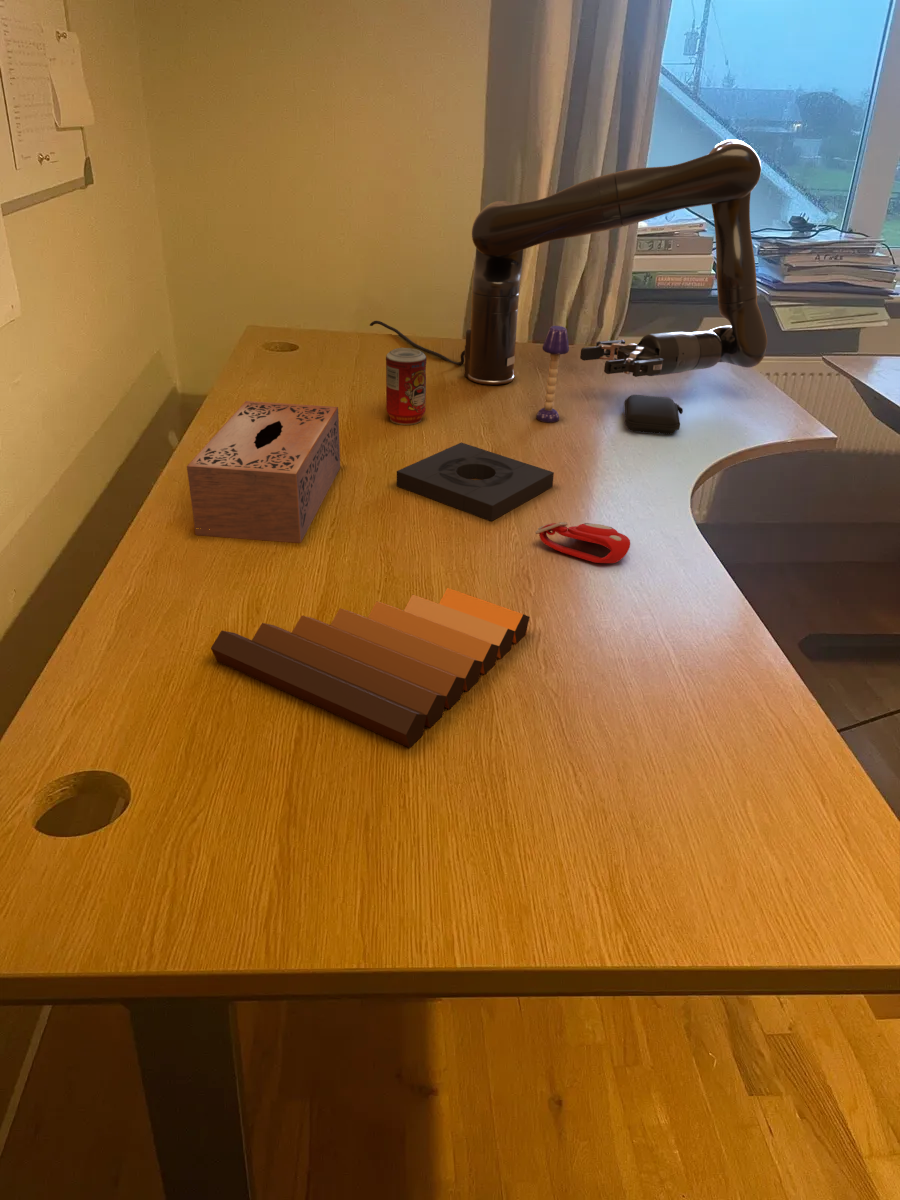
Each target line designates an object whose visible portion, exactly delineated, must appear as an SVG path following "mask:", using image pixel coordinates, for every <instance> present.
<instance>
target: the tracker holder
mask: <svg viewBox="0 0 900 1200" xmlns="http://www.w3.org/2000/svg"><path fill="white" fill-rule="evenodd" d="M568 525H569V524H568V522H567V521H566V522H552V523H551V522H549V523H546V524H544V525H541V526H539V527H538V528H537V530H535V535H538V536H539V539H540V541H541V542H542V543H543V544H544V545H546V546H547V547H549V548H551V549H553V550H555V551H558V552H561V553H562V554H565V555H570V556H572V557H575V558H579V559H582V560H585V561H588V562H590V563H591V562H592V563H595V564H596V563H597V564H615V563H618V562H619V561H621V560H623V558H625V556H626V555H627V553H628V552H629V550H630V548H631V539H630V538H629V537H628V536H627V535H626V534H623V533H621V532H619V531H618V530H617V529H615V528H613V527H611V526H609V525H605V524H601V523H592V522H591V523H590V522H584V523H581V524H578V525H577V526H568ZM567 526H568V527H567ZM556 533H557V534H559V535H560V536H562V537H565V538H570V539H573V540H577V541H584V542H588V543H593V544H597V545H600V546H603V547H604V548H607V549H608V550H609V551H610V552H608V553H607V555H605V556H603V557H602V556H597V555H594V554H591V553H587V552H585V551H581V550H578V549H575V548H571V547H568V546H565V545H562V544H559V543H557V542H555V541H554V540H551V538H549V537H548V535H549V536H554V535H556Z"/></svg>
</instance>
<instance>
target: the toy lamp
mask: <svg viewBox="0 0 900 1200" xmlns="http://www.w3.org/2000/svg"><path fill="white" fill-rule="evenodd" d="M569 345H570V344H569V337H568V330H567V328H566V327H565V326H562V325H551V326H550V327H549V328H548V331H547V333H546V336H545V339H544V342H543V344H542V348H541V349H542V351H543V352H545V353H547V354H549V357H550V358H549V359H550V360H549V361H548V362H549V364H548V365H549V367H548V375H547V379H546V384H547V385H546V388H545V392H546V393H545V395H544V400H545V401H544V402H543V406H544V407H543V408H540V409H538V411H537V413H536V415H535V418H536V419H537V420H538V421H540V422H542V423H549V424H550V423H556V422H559V420H560V414H559V412H558V411H557V410H556V409H555V408H554V401H555V396H556V395H555V393H556V390H557V386H556V385H557V383H558V377H557V376H558V375H559V374H558V373H559V369H558V368H559V365H560V360H559V359H560V358H561V355H565V354H568V353H569V351H570V346H569Z"/></svg>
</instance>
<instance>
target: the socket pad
mask: <svg viewBox="0 0 900 1200" xmlns="http://www.w3.org/2000/svg"><path fill="white" fill-rule="evenodd" d="M554 475H555V472H554V471H551V470H548V469H545V468H542V467H538V466H536V465H533V464H530V463H526V462H523V461H521V460H517V459H514V458H511V457H507V456H504V455H501V454H498V453H495V452H493V451H490V450H486V449H483V448H481V447H477V446H474V445H471V444H469V443H465V442H463V441H462V442H459V443H457V444H455V445H452V446H450V447H448V448H445V449H443V450H442V451H439V452H437V453H434V454H432V455H429V456H428V457H425V458H423V459H421V460H419V461H416V462H414V463H412V464H410V465H407V466H405V467H402V468H401V469H398V470H396V487H398V488H401V489H404V490H406V491H409V492H411V493H414V494H417V495H419V496H422V497H425V498H428V499H430V500H433V501H436V502H439V503H441V504H444V505H447V506H449V507H451V508H455V509H457V510H460V511H462V512H464V513H465V512H466V513H468V514H471V515H474V516H476V517H479V518H481V519H484V520H487V521H490V522H493V521H494V520H496V519H498V518H500V517H502V516H504V515H505V514H507V513H510V512H511V511H512V510H514V509H516V508H518V507H519V506H521V505H523V504H525V503H527V502H529V501H530V500H533V499H534V498H535V497H537V496H540V494H543V493H544V492H546V491H547V490H549V489H551V488H553V487H554Z"/></svg>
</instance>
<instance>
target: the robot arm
mask: <svg viewBox="0 0 900 1200" xmlns="http://www.w3.org/2000/svg"><path fill="white" fill-rule="evenodd" d="M761 175H762V163H761V159H760V157H759V155H758V154H757V152H756V151H755V150H754V149H753V148H752V146H750V145H749V144H747V143H746V142H744V141H743V140H739V139H726V140H723V141H721V142H720V143H717V144H716V145H715V146H714V147H713V148H712V149H711V150H710V151H709V153H708V154H705V155H702V156H699V157H697V158H694V159H690V160H687V161H685V162H684V161H683V162H681V163H678V164H672V165H666V166H650V167H649V166H648V167H639V168H631V169H625V170H620V171H614V172H610V173H608V174H603V175H599V176H596V177H593V178H589V179H587V180H584V181H582V182H577V183H575V184H573V185H571V186H569V187H566V188H564V189H563V190H560V191H558V192H556V193H553V194H551V195H548V196H546V197H543V198H540V199H536V200H532V201H526V202H520V203H515V204H514V203H512V202H509V201H506V200H496V201H493V202H491V203H489V204H487V205H486V206H485V207H484V208H483V209H481V211H480V212H479V213H478V214H477V216H476V217H475V219H474V222H473V224H472V228H471V240H472V242H473V245H474V247H475V259H474V268H473V273H472V279H471V281H472V282H471V303H470V304H471V306H470V307H471V308H470V309H471V310H470V327H469V328H467V329H466V330H465V345H464V350H463V351H462V352H461V353H460V361H459V362H458V361H454V360H452V359H450V358H448V357H447V356H444V355H443V354H441V353H439V352H436V351H434V350H431V349H429V348H426V347H423V346H421V345H419V344H417V343H415V342H414V341H412V340H411V339H410V338H409V337H408V336H406V335H405V334H404V333H403V332H400V330H398V329H396V328H395V327H393V326H391V325H388V324H387V323H385V322H383V321H381V320H373V321H372V322H370V324H369V326H370V327H373V326H374V325H381V326H382V327H384V328H386V329H388V330H390V331H392V332H394V333H396V334H397V335H398V336H399V337H400V338H402V339H403V340H404V341H406V342H407V343H408V344H409V345H411V346H412V347H414V348H415V349H417V350H420V351H421V352H425V353H427V354H430V355H433V356H435V357H438V358H440V359H442V360H443V361H445V362H448V363H451V364H455V365H457V366H463V365H464V370H463V371H464V373H463V376H464V377H465V378H468V380H469V381H471V382H474V383H477V384H481V385H489V386H497V385H498V386H500V385H506V384H509V383H511V382H513V381H514V377H515V375H514V374H515V373H514V372H515V364H516V343H517V328H518V313H519V298H520V286H521V278H522V272H523V260H524V250H525V249H529V248H532V247H535V246H538V245H540V244H543V243H547V242H551V241H555V240H562V239H569V238H570V239H571V238H575V237H582V236H586V235H592V234H598V233H603V232H606V231H611V230H616V229H619V228H624V227H627V226H631V225H634V224H638V223H641V222H645V221H648V220H651V219H655V218H658V217H660V216H663V215H666V214H669V213H672V212H676V211H678V210H684V209H688V208H695V207H702V206H707V205H708V206H709V205H711V209H712V217H713V225H714V235H715V259H716V260H715V262H716V264H715V265H716V289H717V290H716V291H717V306H718V311H719V314H720V315H721V316H722V317H723V318H725V319H726V320H727V321H728V322H729V323H730V325H723V326H717V327H714V328H712V329H708V330H697V331H670V332H669V331H668V332H659V333H649V334H645V335H643V337H642V338H641V339H640V341H639V342H638V343H632V342H627V343H626V340H624V339H617V340H616V339H614V340H601V341H600V340H598V341H596V342H595V343H596V344H595V346H588V347H587V346H586V347H582V348H581V349H580V355H579V359H580V360H582V361H594V360H605V362H604V366H603V373H604V374H606V375H613V374H614V375H615V374H622V373H624V374H625V375H630V374H632V376H633V377H635V378H637V377H644V376H645V377H646V376H647V377H655V376H656V377H657V376H663V375H665V376H666V375H673V374H681V373H684V372H689V371H697V370H704V369H705V370H706V369H710V368H713V367H715V366H716V365H717V364H718V363H723V364H730V365H734V366H737V367H740V368H747V369H748V368H749V369H750V368H754V367H756V366H758V365H759V364H760V363H761V362H762V361H763V360H764V358H765V356H766V353H767V350H768V334H767V330H766V327H765V322H764V320H763V316H762V312H761V310H760V307H759V305H758V286H757V285H758V284H757V283H758V282H757V268H756V258H755V252H754V245H753V237H752V231H751V230H752V229H751V214H750V213H751V211H750V210H751V193H752V192H753V190H754V189H755V188H756V187H757V185H758V183H759V181H760V178H761ZM615 356H616V357H615Z"/></svg>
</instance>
